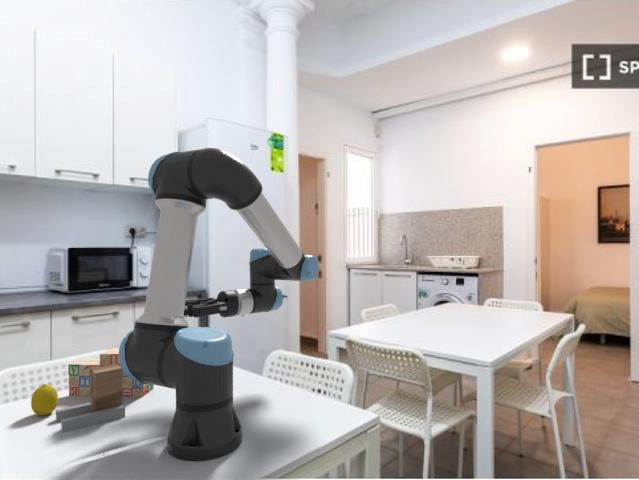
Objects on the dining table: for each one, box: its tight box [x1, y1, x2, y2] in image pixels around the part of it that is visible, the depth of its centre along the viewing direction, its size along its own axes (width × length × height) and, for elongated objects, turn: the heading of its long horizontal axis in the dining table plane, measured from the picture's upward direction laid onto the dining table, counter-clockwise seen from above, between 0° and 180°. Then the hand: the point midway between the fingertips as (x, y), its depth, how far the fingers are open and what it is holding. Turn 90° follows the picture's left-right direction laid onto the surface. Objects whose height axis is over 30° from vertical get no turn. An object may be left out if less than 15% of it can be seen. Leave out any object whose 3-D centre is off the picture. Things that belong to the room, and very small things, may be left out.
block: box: [90, 364, 124, 413], centre depth 105 cm, size 5×6×11 cm
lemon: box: [30, 383, 59, 417], centre depth 106 cm, size 6×6×8 cm
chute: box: [55, 401, 126, 433], centre depth 103 cm, size 9×13×3 cm
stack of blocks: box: [67, 347, 155, 398], centre depth 121 cm, size 21×6×12 cm, turn 85°
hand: (155, 312), depth 113 cm, fingers open, 9 cm apart
